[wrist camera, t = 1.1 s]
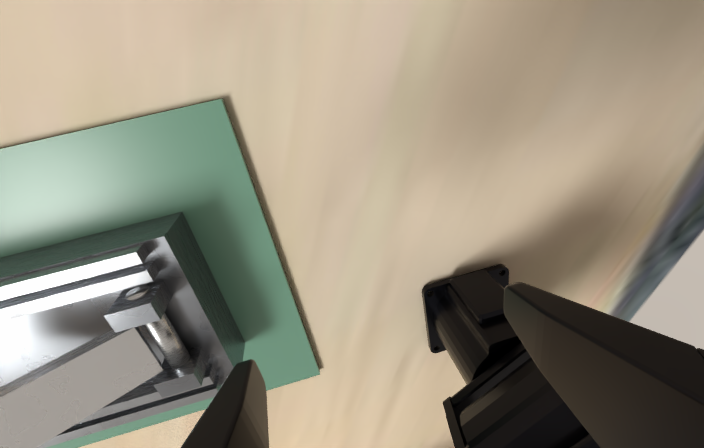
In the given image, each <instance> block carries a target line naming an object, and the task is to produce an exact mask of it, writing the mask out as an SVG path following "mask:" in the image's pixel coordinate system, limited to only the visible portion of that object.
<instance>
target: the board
mask: <svg viewBox="0 0 704 448" xmlns="http://www.w3.org/2000/svg"><path fill="white" fill-rule="evenodd" d="M179 212H183V214H184V216H185V218H186V220H187V222H188V224H189V226H190V228H191V230H192V232H193V235H194V237H195V239H196V241H197V243H198V245H199V247H200V249H201V251H202V253H203V255H204V257H205V259H206V262H207V264H208V266H209V268H210V270H211V272H212V274H213V276H214V278H215V280H216V282H217V284H218V287H219V289H220V291H221V293H222V295H223V297H224V299H225V301H226V303H227V305H228V307H229V309H230V311H231V314H232V316H233V318H234V320H235V322H236V324H237V326H238V328H239V330H240V332H241V334H242V336H243V339H244V341H245V349H244V355H243V361H246V360H250V359H253V360H254V361H255V362H256V364H257V366H258V368H259V370H260V372H261V374H262V377H263V379H264V381H265V385H266V391H267V390H270V389H273V388H277V387H280V386H283V385H287V384H290V383H293V382H296V381H300V380H303V379H306V378H310V377H313V376H316V375H320V370H319V367H318V364H317V361H316V359H315V356H314V353H313V350H312V347H311V345H310V342H309V339H308V336H307V333H306V331H305V328H304V325H303V322H302V319H301V317H300V314H299V311H298V308H297V305H296V303H295V300H294V297H293V294H292V291H291V289H290V286H289V283H288V280H287V277H286V275H285V272H284V269H283V266H282V263H281V261H280V258H279V255H278V252H277V249H276V247H275V244H274V241H273V238H272V235H271V233H270V230H269V227H268V224H267V221H266V219H265V216H264V213H263V210H262V207H261V205H260V202H259V199H258V196H257V193H256V191H255V188H254V185H253V182H252V179H251V177H250V174H249V171H248V168H247V165H246V163H245V160H244V157H243V154H242V151H241V149H240V146H239V143H238V140H237V137H236V135H235V132H234V129H233V126H232V123H231V121H230V118H229V115H228V112H227V109H226V107H225V104H224V101H223V98H222V99H217V100H213V101H209V102H204V103H200V104H195V105H191V106H187V107H182V108H178V109H173V110H169V111H165V112H160V113H156V114H151V115H147V116H143V117H138V118H134V119H129V120H125V121H121V122H116V123H112V124H107V125H103V126H99V127H94V128H90V129H85V130H81V131H77V132H72V133H68V134H63V135H59V136H55V137H50V138H46V139H41V140H37V141H33V142H28V143H24V144H19V145H15V146H11V147H6V148H2V149H0V258H1V257H5V256H9V255H13V254H17V253H20V252H24V251H28V250H32V249H36V248H40V247H44V246H48V245H52V244H56V243H60V242H64V241H68V240H72V239H76V238H80V237H84V236H88V235H92V234H96V233H100V232H104V231H108V230H112V229H116V228H119V227H123V226H127V225H131V224H135V223H139V222H143V221H147V220H151V219H155V218H159V217H163V216H167V215H171V214H175V213H179ZM213 398H214V397H213ZM213 398H209V399H206V400H203V401H199V402H196V403H193V404H189V405H186V406H183V407H179V408H176V409H173V410H169V411H166V412H163V413H159V414H156V415H153V416H149V417H146V418H143V419H139V420H136V421H133V422H129V423H126V424H123V425H119V426H116V427H113V428H109V429H106V430H103V431H99V432H96V433H93V434H89V435H86V436H83V437H79V438H76V439H73V440H69V441H66V442H63V443H59V444H56V445H53V446H49V447H46V448H78V447H81V446H85V445H88V444H91V443H95V442H98V441H101V440H105V439H108V438H111V437H114V436H118V435H121V434H124V433H128V432H131V431H134V430H138V429H141V428H144V427H148V426H151V425H154V424H158V423H161V422H164V421H167V420H171V419H174V418H177V417H181V416H184V415H187V414H191V413H194V412H197V411H201V410H204V409H207V407H208V406H209V404H210V403H211V401H212V400H213Z"/></svg>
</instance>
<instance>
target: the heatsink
mask: <svg viewBox="0 0 704 448" xmlns="http://www.w3.org/2000/svg"><path fill="white" fill-rule="evenodd" d="M134 327H138V328H139V330H140V331H141V333H142V334H143V336H144V337H145V339H146V340H147V342H148V343H149V345H150V346H151V348H152V349H153V351H154V352H155V354H156V355H157V357H158V358H159V360H160V361H161V364H162V368H163V371H162V372H160V373H158V374H157V375H155V376H154V377H152V378H150V379H149V380H147V381H145V382H144V383H142V384H140V385H139V386H137V387H136V388H134V389H132V390H131V391H129V392H127V393H126V394H124V395H122V396H121V397H119V398H118V399H116V400H114V401H113V402H111V403H109V404H108V405H106V406H104V407H103V408H101V409H100V410H98V411H96V412H95V413H93V414H91V415H90V416H88V417H86V418H85V419H83V420H82V421H80V422H78V423H77V424H75V425H73V426H72V427H70V428H68V429H67V430H65V431H64V432H62V433H60V434H59V435H57V436H55V437H54V438H52V439H50V440H49V441H47V442H46V443H44V444H42V445H41V446H39V447H37V448H46V447H49V446H53V445H56V444H59V443H63V442H66V441H69V440H73V439H76V438H79V437H83V436H86V435H89V434H93V433H96V432H99V431H103V430H106V429H109V428H113V427H116V426H119V425H123V424H126V423H129V422H133V421H136V420H139V419H143V418H146V417H149V416H153V415H156V414H159V413H163V412H166V411H169V410H173V409H176V408H179V407H183V406H186V405H189V404H193V403H196V402H199V401H203V400H206V399H209V398H213V397H215V395H216V394H217V392H218V391H219V389H220V387H221V386H222V384H223V383H224V381H225V380H226V378H227V377H228V375H229V374H230V372H231V371H232V369H233V368H234V366H235V365H236V364H237V363H239V362H243V355H244V349H245V341H244V339H243V336H242V334H241V332H240V330H239V328H238V326H237V324H236V322H235V320H234V318H233V316H232V314H231V311H230V309H229V307H228V305H227V303H226V301H225V299H224V297H223V295H222V293H221V291H220V289H219V287H218V284H217V282H216V280H215V278H214V276H213V274H212V272H211V270H210V268H209V266H208V264H207V262H206V259H205V257H204V255H203V253H202V251H201V249H200V247H199V245H198V243H197V241H196V239H195V237H194V235H193V232H192V230H191V228H190V226H189V224H188V222H187V220H186V218H185V216H184V214H183V212H179V213H175V214H171V215H167V216H163V217H159V218H155V219H151V220H147V221H143V222H139V223H135V224H131V225H127V226H123V227H119V228H116V229H112V230H108V231H104V232H100V233H96V234H92V235H88V236H84V237H80V238H76V239H72V240H68V241H64V242H60V243H56V244H52V245H48V246H44V247H40V248H36V249H32V250H28V251H24V252H20V253H17V254H13V255H9V256H5V257H1V258H0V387H2V386H4V385H5V384H7V383H9V382H11V381H13V380H15V379H17V378H19V377H21V376H23V375H25V374H27V373H29V372H31V371H33V370H35V369H37V368H39V367H40V366H42V365H44V364H46V363H48V362H50V361H52V360H54V359H56V358H58V357H60V356H62V355H64V354H66V353H68V352H70V351H72V350H74V349H75V348H77V347H79V346H81V345H83V344H85V343H87V342H89V341H91V340H93V339H95V338H97V337H99V336H101V335H103V334H105V333H107V332H108V331H110V330H112V329H113V330H114V331H115V332H120V331H123V330H127V329H130V328H134Z"/></svg>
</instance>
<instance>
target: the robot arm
mask: <svg viewBox="0 0 704 448" xmlns="http://www.w3.org/2000/svg"><path fill="white" fill-rule="evenodd" d="M500 271H501V272H500ZM499 272H500V273H499ZM508 280H509V270H508V268H507V267H505V266H504V265H502V264H499V265H496V266H492V267H489V268H485V269H482V270H478V271H475V272H471V273H468V274H464V275H461V276H457V277H454V278H450V279H447V280H444V281H440V282H437V283H433V284H430V285H427V286H425V287H424V288H423V289H422V297H423V305H424V313H425V320H426V328H427V336H428V344H429V348H430V350H431V352H433V353H438V352H441V351H445V350H447V351H448V353H449V355H450V357H451V358H452V360H453V362H454V363H455V365H456V367H457V369H458V370H459V372H460V374H461V375H462V377H463V379H464V381H465V382H466V384H467V385H466V386H465V387H464V388H462V389H461V390H460V391H459V392H457V393H456V394H455V395H454V396H452V397H448V398H447V399H446V400H445V401H443V406H444V409H445V413H446V418H447V422H448V425H449V429H450V432H451V435H452V439H453V442H454V446H455V448H704V350H703V349H700V348H697V349H696V348H695V347H694V346H692V345H689V344H687V343H684V342H681V341H678V340H676V339H673V338H670V337H668V336H665V335H662V334H660V333H657V332H654V331H651V330H649V329H646V328H643V327H641V326H638V325H635V324H633V323H630V322H627V321H625V320H622V319H619V318H616V317H614V316H611V315H608V314H606V313H603V312H600V311H598V310H595V309H592V308H590V307H587V306H584V305H581V304H579V303H576V302H573V301H571V300H568V299H565V298H563V297H560V296H557V295H555V294H552V293H549V292H546V291H544V290H541V289H538V288H536V287H533V286H530V285H528V284H525V283H522V282H518V283H514V284H511V285H508ZM429 291H431V292H430V293H428V292H429ZM181 448H269V436H268V416H267V396H266V385H265V381H264V379H263V377H262V374H261V372H260V370H259V368H258V366H257V364H256V362H255V361H254V360H253V359H250V360H246V361H243V362H239V363H237V364H236V365H235V366H234V368H233V369H232V371H231V372H230V374H229V375H228V377H227V378H226V380H225V381H224V383H223V384H222V386H221V387H220V389H219V391H218V392H217V394H216V395H215V397H214V398H213V400H212V401H211V403H210V404H209V406H208V407H207V409H206V410H205V412H204V413H203V415H202V416H201V418H200V419H199V421H198V422H197V424H196V425H195V427H194V428H193V430H192V431H191V433H190V435H189V436H188V438H187V439H186V441H185V442H184V444H183V445H182V447H181Z"/></svg>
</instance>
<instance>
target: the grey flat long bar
mask: <svg viewBox="0 0 704 448" xmlns="http://www.w3.org/2000/svg"><path fill="white" fill-rule="evenodd" d="M162 371H163V368H162V364H161V361H160V360H159V358H158V357H157V355H156V354H155V352H154V351H153V349H152V348H151V346H150V345H149V343H148V342H147V340H146V339H145V337H144V336H143V334H142V333H141V331H140V330H139V328H138V327H134V328H130V329H127V330H123V331H120V332H115V331H114V330H113V329H112V330H110V331H108V332H107V333H105V334H103V335H101V336H99V337H97V338H95V339H93V340H91V341H89V342H87V343H85V344H83V345H81V346H79V347H77V348H75V349H74V350H72V351H70V352H68V353H66V354H64V355H62V356H60V357H58V358H56V359H54V360H52V361H50V362H48V363H46V364H44V365H42V366H40V367H39V368H37V369H35V370H33V371H31V372H29V373H27V374H25V375H23V376H21V377H19V378H17V379H15V380H13V381H11V382H9V383H7V384H5V385H4V386H2V387H0V448H37V447H39V446H41V445H42V444H44V443H46V442H47V441H49V440H50V439H52V438H54V437H55V436H57V435H59V434H60V433H62V432H64V431H65V430H67V429H68V428H70V427H72V426H73V425H75V424H77V423H78V422H80V421H82V420H83V419H85V418H86V417H88V416H90V415H91V414H93V413H95V412H96V411H98V410H100V409H101V408H103V407H104V406H106V405H108V404H109V403H111V402H113V401H114V400H116V399H118V398H119V397H121V396H122V395H124V394H126V393H127V392H129V391H131V390H132V389H134V388H136V387H137V386H139V385H140V384H142V383H144V382H145V381H147V380H149V379H150V378H152V377H154V376H155V375H157V374H158V373H160V372H162Z"/></svg>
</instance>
